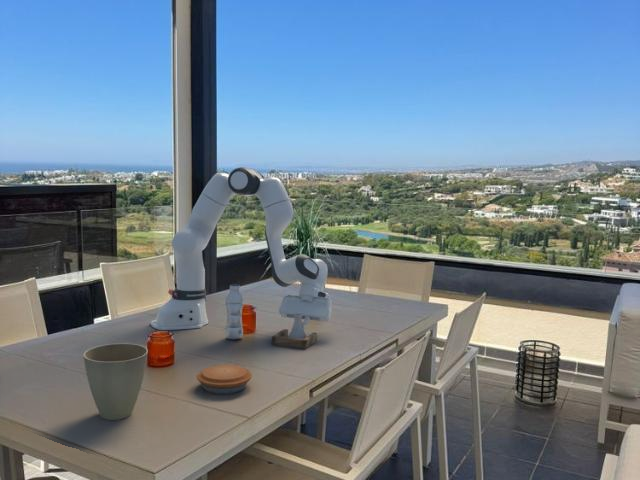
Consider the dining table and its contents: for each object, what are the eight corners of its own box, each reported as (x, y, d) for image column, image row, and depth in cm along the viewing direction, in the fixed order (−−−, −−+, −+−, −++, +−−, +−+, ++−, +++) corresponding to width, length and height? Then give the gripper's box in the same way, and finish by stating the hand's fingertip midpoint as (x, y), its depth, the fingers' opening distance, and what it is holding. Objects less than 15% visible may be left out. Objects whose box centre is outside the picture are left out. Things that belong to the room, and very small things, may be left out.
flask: (293, 344, 208) (293, 317, 207) (284, 339, 215) (285, 313, 214) (310, 342, 212) (311, 315, 211) (301, 337, 218) (302, 311, 217)
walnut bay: (305, 349, 204) (305, 340, 203) (271, 344, 208) (271, 336, 208) (316, 340, 214) (316, 332, 214) (284, 336, 219) (284, 329, 218)
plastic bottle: (246, 339, 214) (247, 285, 212) (232, 342, 209) (233, 287, 207) (235, 335, 218) (236, 283, 216) (221, 338, 213) (221, 285, 211)
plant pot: (70, 420, 139) (69, 356, 138) (112, 399, 153) (112, 340, 152) (120, 431, 134) (120, 364, 132) (160, 408, 148) (160, 348, 146)
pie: (242, 400, 156) (242, 382, 155) (187, 394, 158) (187, 376, 158) (258, 380, 171) (258, 364, 170) (208, 376, 174) (208, 360, 173)
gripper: (282, 290, 224) (271, 320, 216) (332, 294, 218) (323, 326, 210) (286, 299, 229) (276, 329, 221) (335, 304, 222) (327, 335, 214)
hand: (299, 327), depth 215 cm, fingers closed, pressing on flask
